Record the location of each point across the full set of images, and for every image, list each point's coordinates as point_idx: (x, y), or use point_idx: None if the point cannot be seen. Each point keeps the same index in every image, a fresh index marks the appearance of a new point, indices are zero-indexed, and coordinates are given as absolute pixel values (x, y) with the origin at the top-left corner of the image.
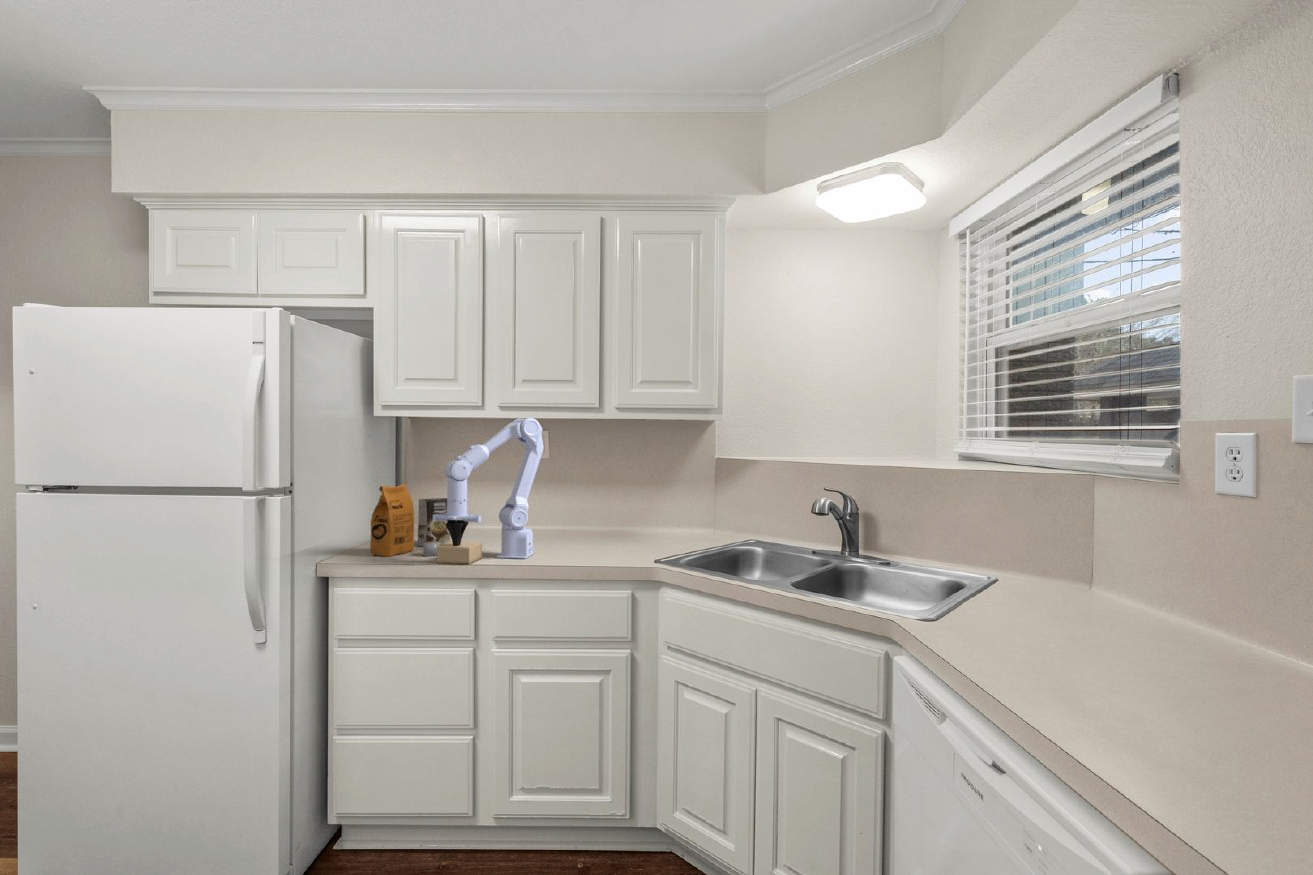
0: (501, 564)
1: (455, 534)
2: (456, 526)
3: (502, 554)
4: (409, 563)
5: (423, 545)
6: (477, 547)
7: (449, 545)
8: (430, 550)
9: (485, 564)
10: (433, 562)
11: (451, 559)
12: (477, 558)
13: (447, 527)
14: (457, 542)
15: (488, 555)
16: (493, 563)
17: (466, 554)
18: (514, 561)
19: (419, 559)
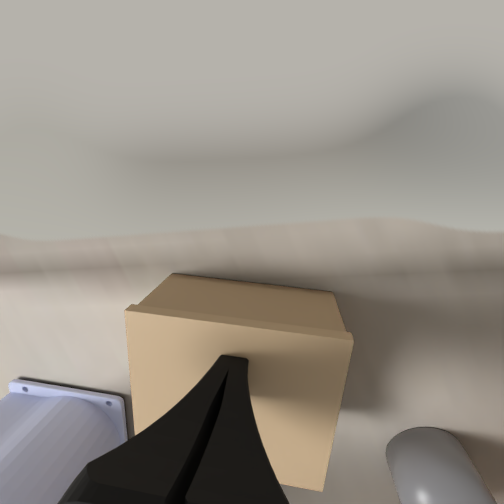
0: (46, 286)
1: (202, 410)
2: (140, 470)
3: (101, 415)
4: (485, 290)
5: (493, 498)
6: None
7: (279, 374)
8: (432, 456)
9: (108, 284)
10: (360, 315)
11: (255, 292)
12: None
13: (265, 479)
14: (211, 369)
15: None
16: (86, 303)
17: (163, 295)
18: (30, 340)
19: (456, 376)
